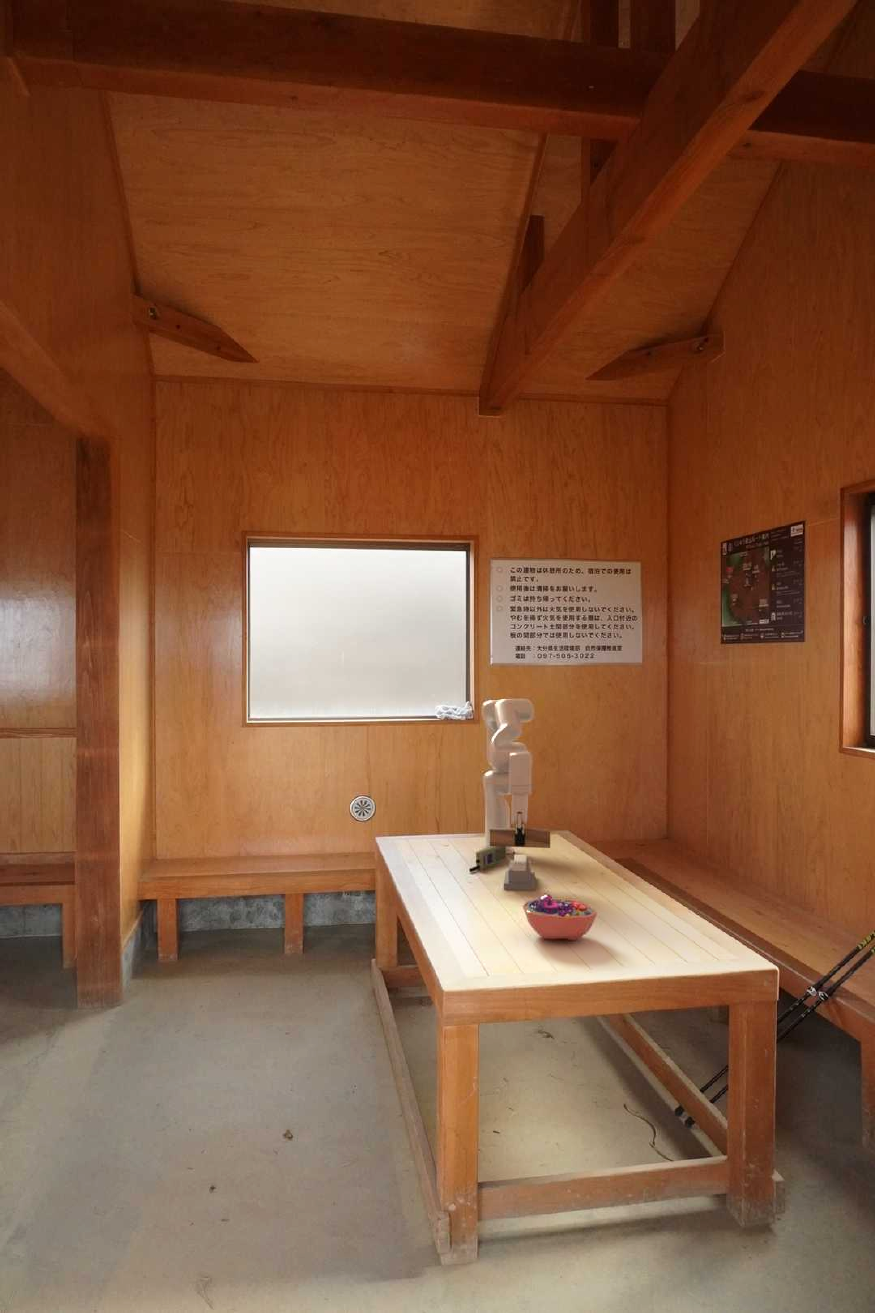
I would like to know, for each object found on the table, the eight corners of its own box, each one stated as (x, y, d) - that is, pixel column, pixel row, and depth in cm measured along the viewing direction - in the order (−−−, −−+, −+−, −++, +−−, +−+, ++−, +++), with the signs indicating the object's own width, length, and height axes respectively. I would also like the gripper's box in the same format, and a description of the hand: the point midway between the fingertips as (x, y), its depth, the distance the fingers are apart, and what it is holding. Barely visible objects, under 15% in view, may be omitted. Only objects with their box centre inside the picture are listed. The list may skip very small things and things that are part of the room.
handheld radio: (508, 860, 309) (475, 874, 288) (500, 859, 311) (466, 873, 290) (507, 842, 309) (474, 855, 288) (499, 841, 311) (466, 854, 290)
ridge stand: (506, 876, 284) (506, 853, 284) (535, 877, 283) (535, 854, 283) (503, 889, 269) (503, 865, 269) (534, 890, 267) (534, 866, 267)
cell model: (584, 954, 210) (584, 910, 210) (512, 941, 219) (512, 899, 219) (605, 935, 224) (605, 893, 224) (536, 923, 234) (536, 883, 234)
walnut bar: (490, 844, 279) (490, 827, 279) (550, 845, 276) (550, 829, 276) (489, 846, 275) (489, 829, 275) (550, 848, 273) (550, 831, 273)
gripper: (509, 785, 285) (509, 839, 284) (507, 793, 268) (507, 849, 268) (531, 786, 284) (531, 839, 284) (531, 793, 267) (531, 850, 267)
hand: (520, 843), depth 276 cm, fingers closed on walnut bar, 3 cm apart
